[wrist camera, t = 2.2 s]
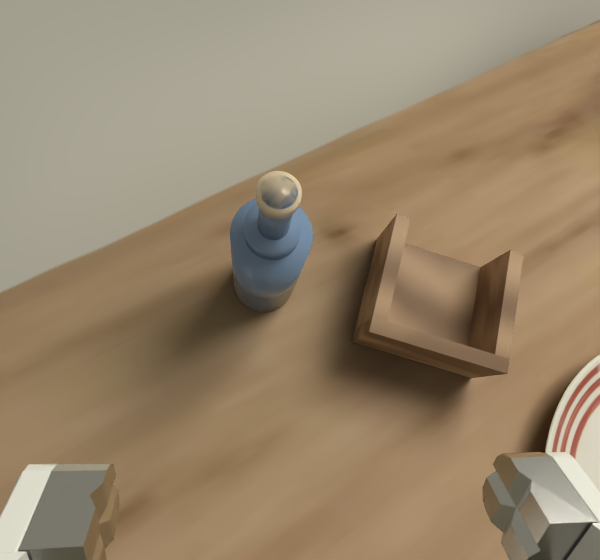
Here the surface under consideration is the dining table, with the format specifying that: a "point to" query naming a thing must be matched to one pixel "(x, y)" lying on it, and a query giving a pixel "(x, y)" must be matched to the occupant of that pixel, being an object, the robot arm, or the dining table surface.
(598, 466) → the dinner plate
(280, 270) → the bottle
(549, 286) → the dining table surface
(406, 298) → the holder
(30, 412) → the dining table surface
